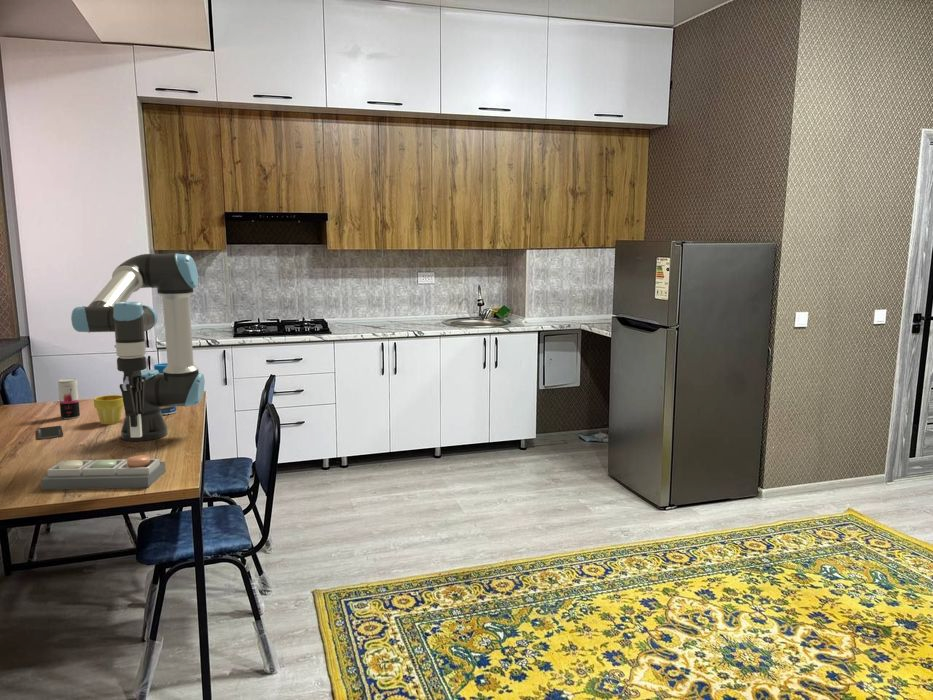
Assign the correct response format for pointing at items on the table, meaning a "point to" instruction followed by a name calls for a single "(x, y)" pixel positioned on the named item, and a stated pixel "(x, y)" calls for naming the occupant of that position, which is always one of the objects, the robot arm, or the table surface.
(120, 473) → the button panel
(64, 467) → the cream button
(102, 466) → the sage button
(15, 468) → the table surface
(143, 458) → the terracotta button
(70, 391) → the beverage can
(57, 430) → the phone
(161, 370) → the beverage bottle
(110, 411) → the plant pot
